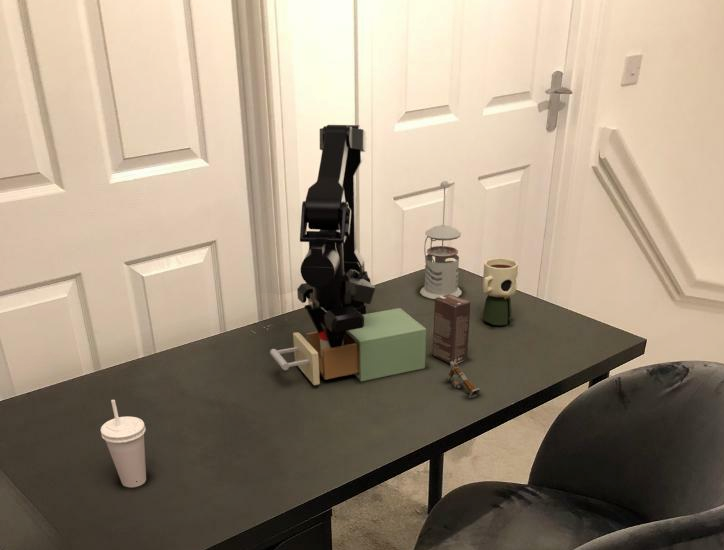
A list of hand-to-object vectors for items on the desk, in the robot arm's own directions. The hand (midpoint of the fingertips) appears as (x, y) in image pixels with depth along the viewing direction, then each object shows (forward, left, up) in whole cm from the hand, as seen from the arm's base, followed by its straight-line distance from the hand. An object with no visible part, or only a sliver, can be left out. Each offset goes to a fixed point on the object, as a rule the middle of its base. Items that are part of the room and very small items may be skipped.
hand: (331, 348), depth 155 cm
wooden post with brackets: (+23, +10, -5) cm, 26 cm away
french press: (-11, +48, -5) cm, 49 cm away
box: (+13, +20, -5) cm, 24 cm away
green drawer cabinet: (+4, +9, -5) cm, 11 cm away
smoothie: (+2, -47, -5) cm, 48 cm away
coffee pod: (0, 0, -1) cm, 1 cm away
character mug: (+10, +41, -5) cm, 42 cm away
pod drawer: (-1, -2, -4) cm, 5 cm away
